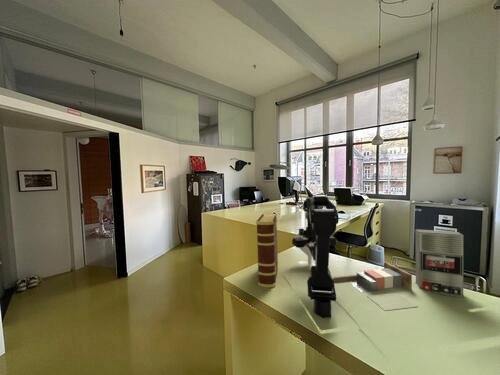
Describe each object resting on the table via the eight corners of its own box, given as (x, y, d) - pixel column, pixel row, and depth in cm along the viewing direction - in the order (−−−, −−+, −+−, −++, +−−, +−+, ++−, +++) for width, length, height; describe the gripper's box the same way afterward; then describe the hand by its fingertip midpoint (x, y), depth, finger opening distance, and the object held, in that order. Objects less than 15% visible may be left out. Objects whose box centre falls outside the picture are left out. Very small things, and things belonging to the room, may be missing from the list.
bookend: (377, 292, 84) (377, 281, 84) (362, 293, 83) (362, 283, 83) (362, 281, 93) (362, 271, 93) (348, 282, 92) (348, 273, 92)
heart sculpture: (295, 263, 118) (294, 232, 117) (298, 260, 122) (297, 230, 121) (322, 269, 108) (322, 235, 108) (325, 265, 113) (324, 233, 112)
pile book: (418, 312, 73) (418, 306, 73) (384, 316, 71) (384, 310, 71) (397, 298, 82) (396, 292, 82) (367, 301, 80) (367, 295, 80)
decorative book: (275, 288, 91) (273, 221, 90) (257, 287, 92) (255, 221, 91) (278, 267, 113) (276, 213, 112) (263, 266, 114) (262, 213, 113)
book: (402, 287, 87) (402, 275, 86) (393, 288, 86) (393, 275, 86) (388, 279, 94) (388, 268, 93) (380, 280, 93) (380, 268, 93)
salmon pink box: (384, 289, 85) (384, 277, 85) (375, 290, 85) (375, 277, 85) (372, 281, 92) (372, 269, 92) (364, 282, 92) (364, 270, 92)
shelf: (413, 292, 84) (413, 274, 84) (339, 301, 79) (339, 282, 79) (388, 278, 97) (388, 261, 97) (323, 285, 92) (322, 268, 92)
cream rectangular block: (393, 288, 86) (393, 276, 86) (384, 289, 85) (384, 276, 85) (380, 280, 93) (380, 268, 93) (372, 281, 92) (372, 269, 92)
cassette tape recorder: (419, 292, 84) (419, 232, 83) (415, 285, 90) (414, 229, 89) (465, 300, 78) (465, 235, 77) (457, 292, 84) (457, 231, 83)
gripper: (324, 220, 100) (325, 252, 100) (287, 223, 97) (288, 255, 97) (337, 225, 89) (338, 261, 89) (296, 228, 86) (297, 264, 86)
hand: (314, 260), depth 91 cm, fingers closed
